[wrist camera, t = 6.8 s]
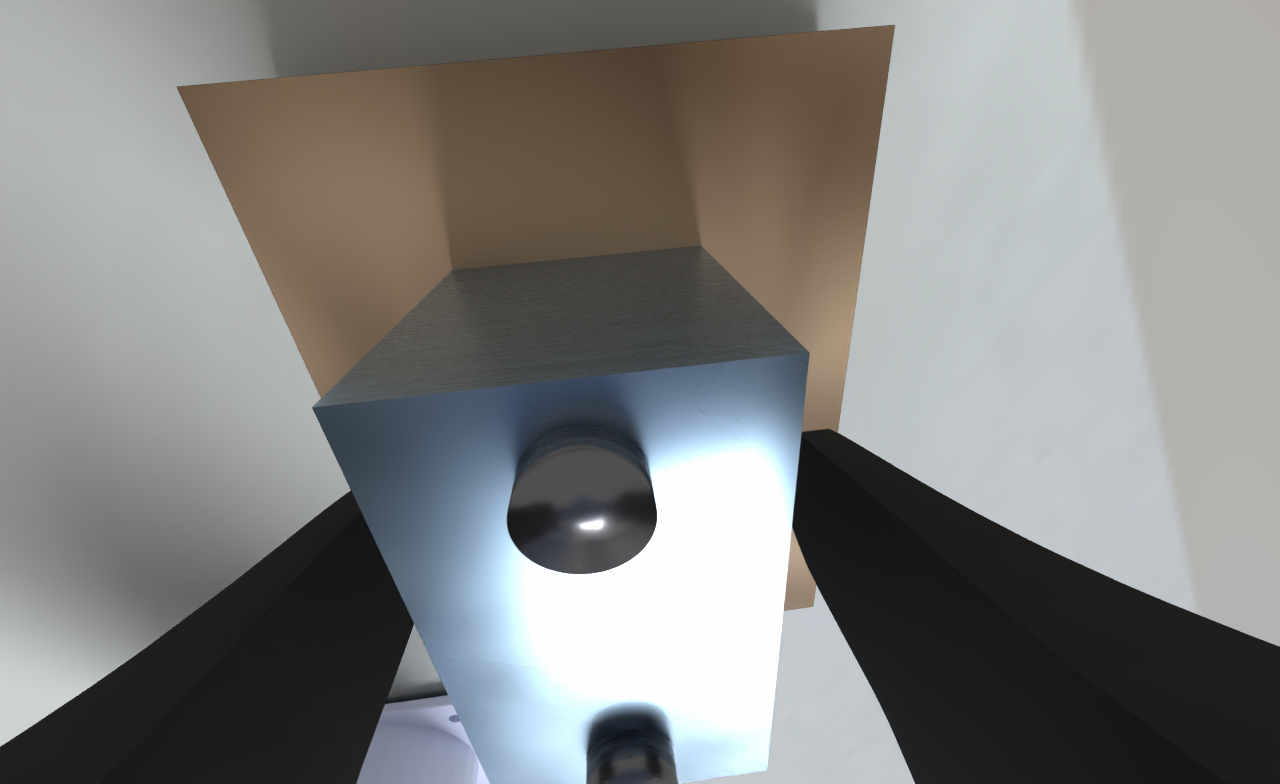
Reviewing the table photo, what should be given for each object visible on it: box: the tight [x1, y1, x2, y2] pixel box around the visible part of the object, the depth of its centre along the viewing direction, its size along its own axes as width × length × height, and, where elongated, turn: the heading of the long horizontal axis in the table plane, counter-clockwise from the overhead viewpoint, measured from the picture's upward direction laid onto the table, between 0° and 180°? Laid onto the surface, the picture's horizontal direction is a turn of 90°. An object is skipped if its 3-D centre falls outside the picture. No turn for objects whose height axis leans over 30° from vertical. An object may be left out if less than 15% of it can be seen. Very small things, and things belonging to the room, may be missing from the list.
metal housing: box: [312, 246, 810, 784], centre depth 8 cm, size 5×8×6 cm, turn 4°
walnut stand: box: [177, 25, 895, 611], centre depth 12 cm, size 14×11×3 cm
